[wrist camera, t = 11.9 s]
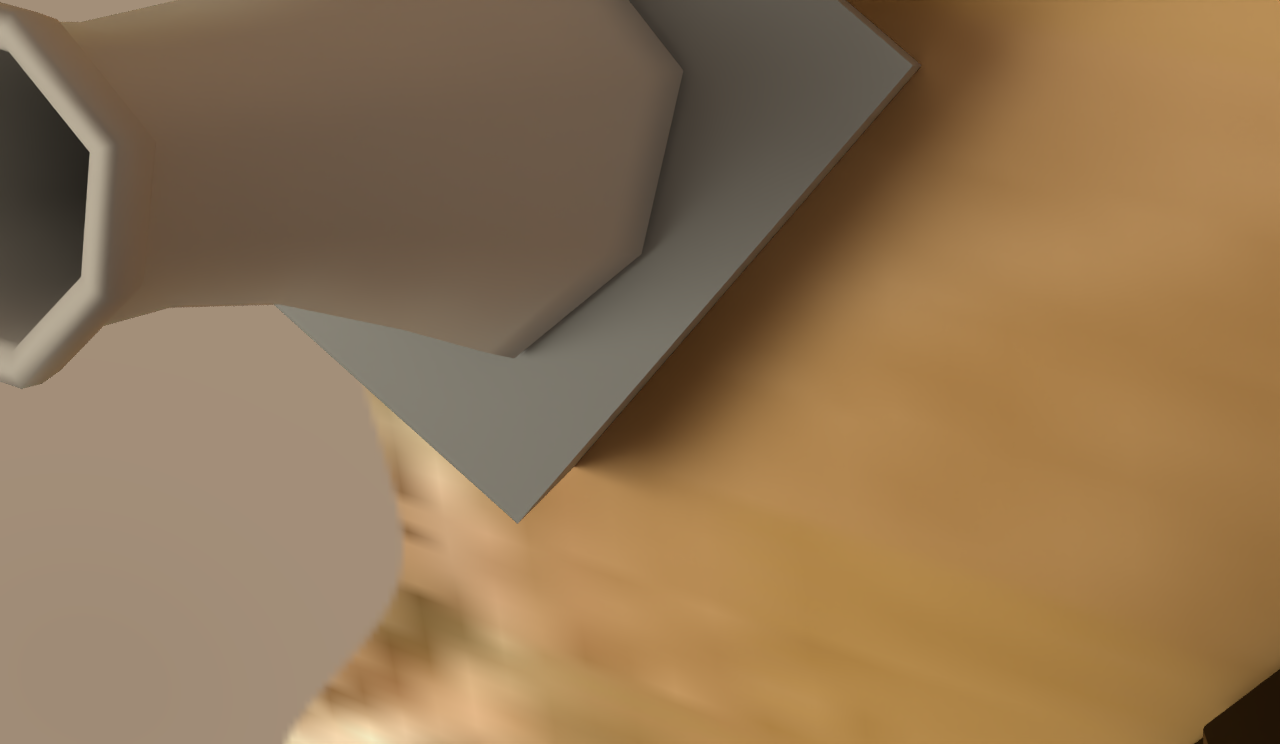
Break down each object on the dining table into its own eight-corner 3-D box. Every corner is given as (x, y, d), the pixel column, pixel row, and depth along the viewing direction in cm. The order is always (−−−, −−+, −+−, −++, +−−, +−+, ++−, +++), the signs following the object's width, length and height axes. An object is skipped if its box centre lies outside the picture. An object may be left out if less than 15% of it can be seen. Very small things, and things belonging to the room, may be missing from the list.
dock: (921, 65, 19) (912, 65, 16) (572, 467, 23) (518, 523, 20) (479, -316, 20) (397, -379, 17) (206, 140, 23) (101, 150, 20)
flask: (538, 426, 20) (144, 756, 10) (204, 192, 20) (-455, 302, 11) (769, 49, 17) (522, 31, 8) (377, -207, 18) (-293, -509, 8)
